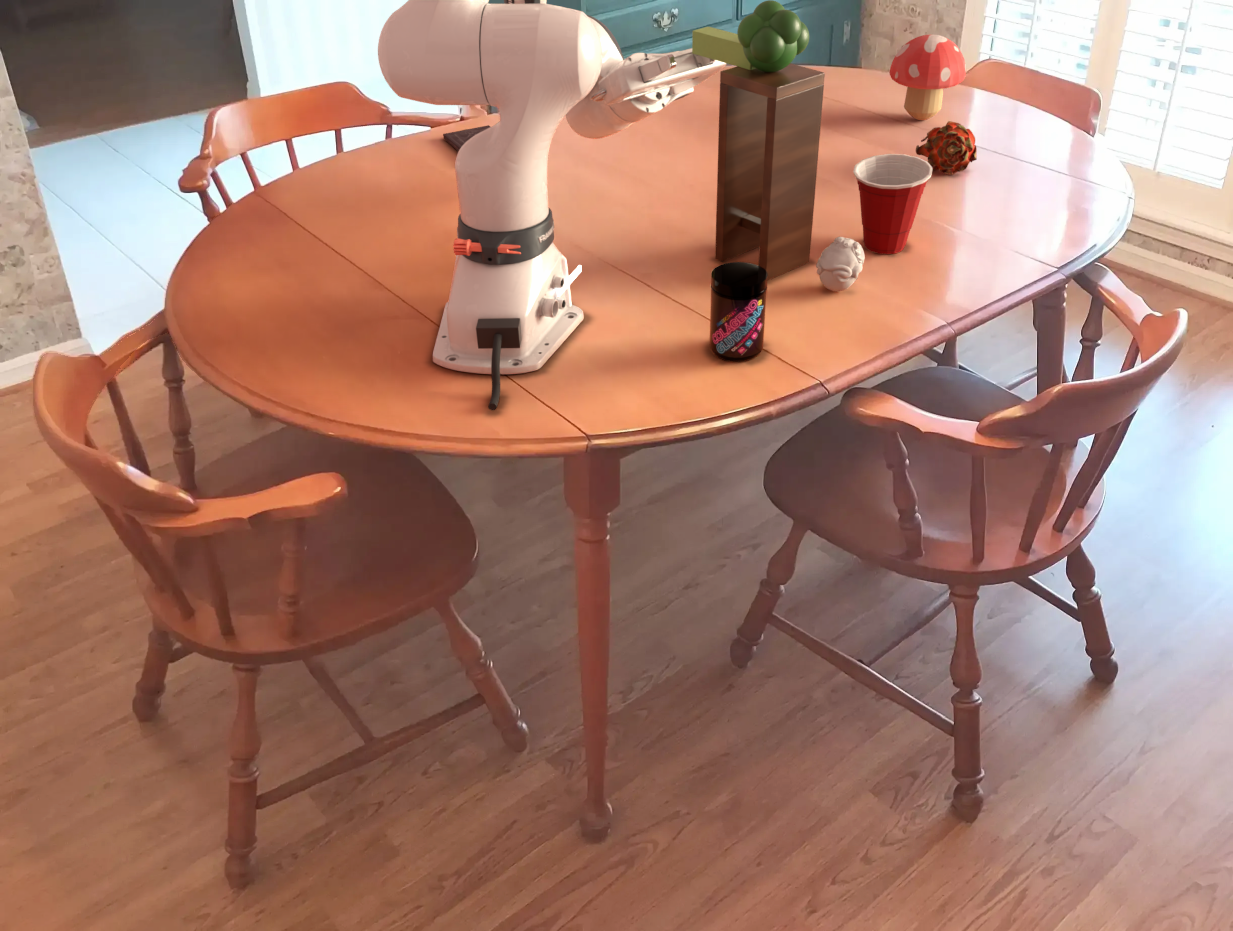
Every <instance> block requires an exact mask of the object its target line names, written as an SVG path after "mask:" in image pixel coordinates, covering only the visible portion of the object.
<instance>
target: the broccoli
mask: <svg viewBox="0 0 1233 931" xmlns="http://www.w3.org/2000/svg"><path fill="white" fill-rule="evenodd" d="M691 42H692V43H691V44H692V46H691V48H692V54H696V55H699V56H703V57H706V58H710V59H713V60H717V61H720V62H724V63H726V65H731V66H734V67H737V66H738V67H741V68H745V69H748V70H752V69H755V68H756V69H758V70H761V71H764V72H776V71H779V70H782V69H783V68H785V67H787V66H788V65H789V64H790V63H791V64H792V62H793V61H794V59H795V58H796V56H799V55H800V54H801V53H803V52H804V51H805V50H806V48H807V47H808V45H809V42H810V31H809V29H808V27H807V25H806V24H805V23H804V22H803V21H801V19H800V18H799V16H798V14H797V13H795V12H794V11H792V10H790V9H786V8H785V7H784V6H783V4H781V3H780V2H778V1H776V0H764V1H761V2H760V3H759V4H758V5H757V6H756V7H755V8H754V10H753V12H752V13H750V14H748V15H746V16H745V17H743V18H742V19H741V21H740V22H739V24H738V26H737V32H736V33H734V32H731V31H727V30H723V29H719V28H715V27H711V26H704V27H702V28H701V27H700V28H698V29H694V30H692V38H691Z"/></svg>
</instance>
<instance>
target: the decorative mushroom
mask: <svg viewBox="0 0 1233 931" xmlns="http://www.w3.org/2000/svg"><path fill="white" fill-rule="evenodd" d="M888 72H889V77H890V78H891V80H892V81H894V82H895V83H896V84H898V85H900V86H903V87H906V93H905V99H904V103H903V108H904V110H905V111H906V113H907V114H908V115H909V116H911V117H912V118H913V119H915V120H917V121H927V120H928V119H930V118H932V117H935V116H936V115H937V114H938V113H939V112H940V111H941V110H942V106H943V96H944V89H949V88H953V87H956V86H957V85H958V86H959V84H961V83H962V82H964V80H965V78H966V75H967V66H966V61H965V57H964V55H963V53H962V51H961V49H960V47H958V45H957V44H956V43H955V42H954V41H952V40H951V39H949V38H947V37H945V36H943V35H939V34H923V35H919V36H916V37H915V38H912V39H909V41H907V42H906V43H904V44H903V46H902V47H900V49H899V50H898V52H896V54H895V56H894V58H893V59H892V62H891V64H890V67H889V71H888Z"/></svg>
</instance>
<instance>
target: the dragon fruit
mask: <svg viewBox="0 0 1233 931" xmlns="http://www.w3.org/2000/svg"><path fill="white" fill-rule="evenodd" d="M925 141H926V142H925ZM920 142H921V143H922V142H925V143H923V144H921V145H918V144H917V145H916V147H915V154H916V156H917V155H918V156H923V157H925V158H927V160H926V161H927V162H928V163H929V164H930V165H931V166H932V168H933V169H932V171H939V172H941V173H942V174H946V175H950V176H953V175H955V174H956V173H959V172H960V173H961V172H963V171H965V170H967V168H968V166H969V164H970V163H973V162H974V161H977V159H978V158H977V156H978V155H977V153H978V152H977V151H978V150H977V146H976V136H975V135H974V133H973V132H972V130H971V129H970V128H966V127H965V125H962V124H961V123H959V122H957V121H952V120H951V121H949V120H948V121H947V123H946V124H945V125H943V126H942V127H940V126H937V127H933V128H932V129H931V130H929V131H928V132H926V136H925V137H923V138H922V139H921V140H920Z"/></svg>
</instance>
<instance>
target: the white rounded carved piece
mask: <svg viewBox="0 0 1233 931" xmlns="http://www.w3.org/2000/svg"><path fill="white" fill-rule="evenodd" d="M865 256H866V255H865V251H864V248H863V246H862V245H861V244H860V242H858V241H856V240H854V239H853V238H850V237H844V236H837V237H835V238H834V240H833V242H831V243H830V244H829V245H828V246H827V247H826V248H824V249H823V250H822V252H821V253H820V256H819V258H817V262H816V264H815V267H816V268H817V270H816V274H817V275H818V276H819V279H820V280H819V281H820V283H821V284H822V286H824V287H825V288H826V289H828V290H829V291H831V292H843V291H845V290H848V289H849V288H850V287H851V286H852V285H853V284H854V283H855V282H856V281H857V279H858V277H859V274H860V273H862V272H863V265H864V263H865V259H866V257H865Z"/></svg>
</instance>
